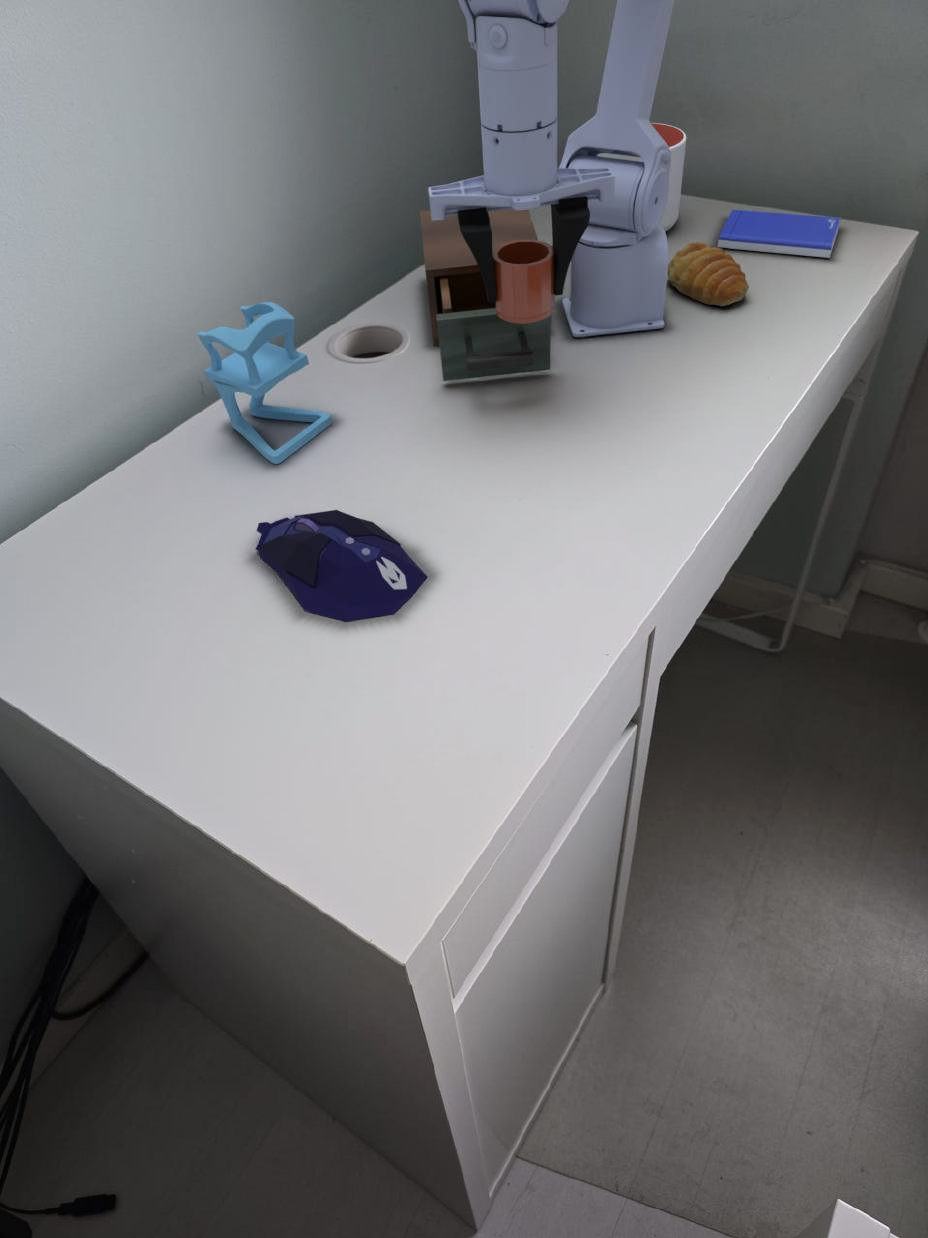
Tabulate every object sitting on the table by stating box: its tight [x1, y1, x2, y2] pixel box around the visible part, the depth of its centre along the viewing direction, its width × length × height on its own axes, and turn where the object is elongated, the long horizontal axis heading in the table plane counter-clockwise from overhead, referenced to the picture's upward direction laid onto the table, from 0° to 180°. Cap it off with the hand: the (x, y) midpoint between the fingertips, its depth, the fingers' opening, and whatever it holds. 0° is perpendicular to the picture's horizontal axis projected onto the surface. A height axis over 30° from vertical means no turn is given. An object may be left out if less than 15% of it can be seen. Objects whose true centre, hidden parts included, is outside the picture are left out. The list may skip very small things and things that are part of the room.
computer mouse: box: [254, 509, 428, 622], centre depth 66 cm, size 9×15×4 cm, turn 58°
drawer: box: [436, 272, 552, 382], centre depth 85 cm, size 18×10×6 cm, turn 4°
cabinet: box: [419, 209, 539, 347], centre depth 93 cm, size 15×12×8 cm
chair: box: [197, 301, 332, 465], centre depth 77 cm, size 8×8×12 cm
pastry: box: [667, 241, 750, 307], centre depth 93 cm, size 9×7×4 cm
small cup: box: [492, 239, 556, 324], centre depth 74 cm, size 5×5×5 cm
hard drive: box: [717, 209, 842, 259], centre depth 101 cm, size 2×8×12 cm
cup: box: [596, 122, 687, 233], centre depth 104 cm, size 10×10×10 cm
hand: (523, 293), depth 75 cm, fingers closed on small cup, 5 cm apart
